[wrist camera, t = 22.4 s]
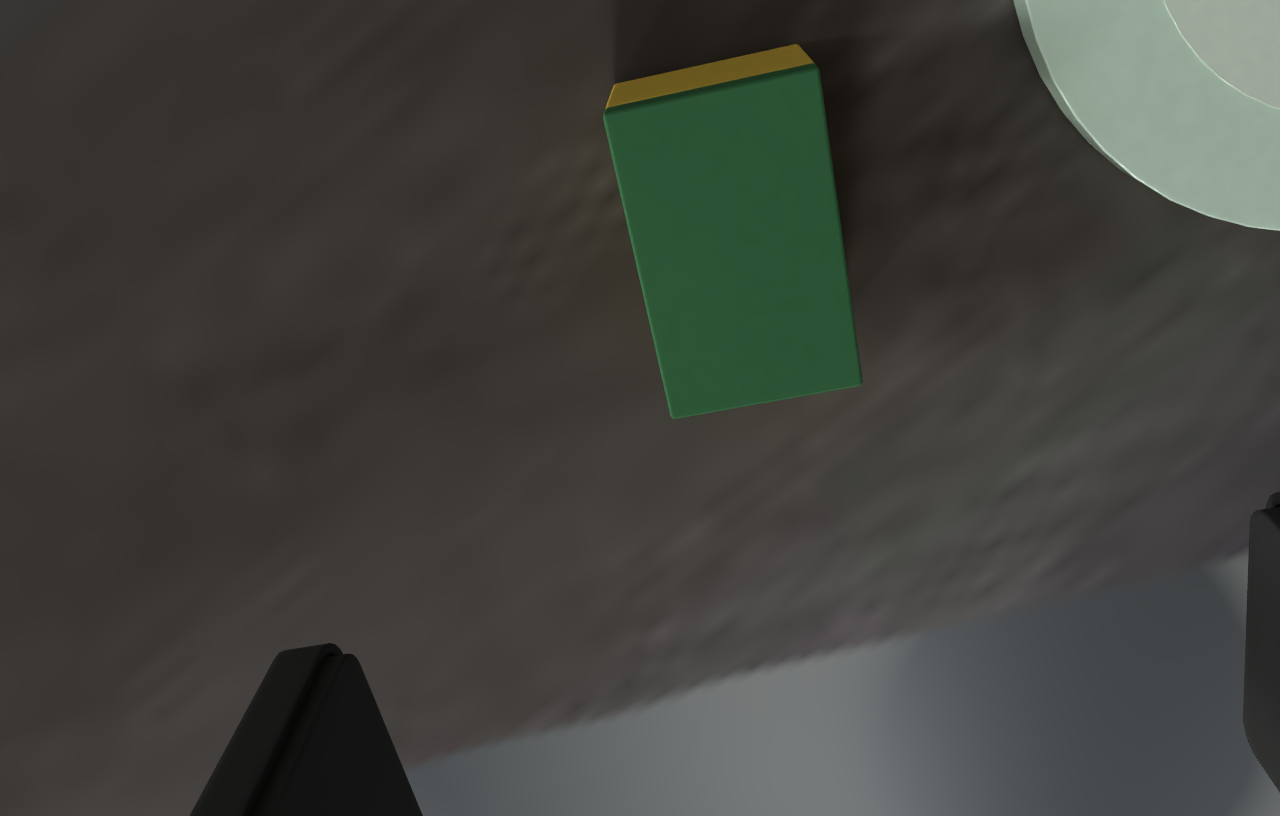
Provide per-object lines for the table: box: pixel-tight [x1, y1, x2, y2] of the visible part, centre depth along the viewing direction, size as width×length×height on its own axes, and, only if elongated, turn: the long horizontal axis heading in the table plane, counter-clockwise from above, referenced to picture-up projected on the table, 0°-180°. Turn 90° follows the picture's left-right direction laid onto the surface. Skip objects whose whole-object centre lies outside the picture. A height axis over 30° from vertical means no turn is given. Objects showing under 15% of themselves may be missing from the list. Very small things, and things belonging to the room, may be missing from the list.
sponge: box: [603, 44, 863, 419], centre depth 27 cm, size 8×5×4 cm, turn 12°
